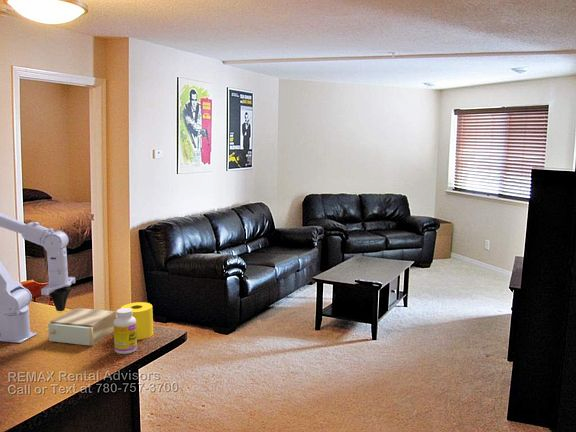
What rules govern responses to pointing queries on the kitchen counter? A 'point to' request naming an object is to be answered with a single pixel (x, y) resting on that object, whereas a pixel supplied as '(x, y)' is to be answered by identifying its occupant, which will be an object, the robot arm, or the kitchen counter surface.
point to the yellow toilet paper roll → (142, 318)
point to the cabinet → (90, 321)
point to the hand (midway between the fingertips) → (60, 310)
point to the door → (71, 334)
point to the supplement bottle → (125, 331)
